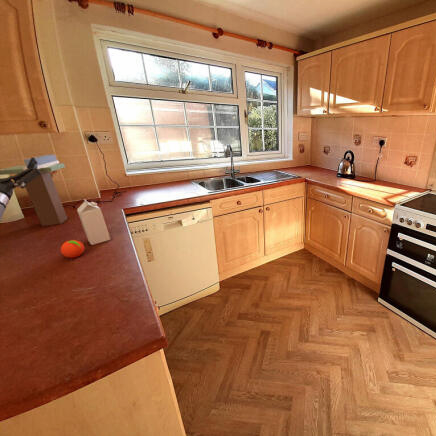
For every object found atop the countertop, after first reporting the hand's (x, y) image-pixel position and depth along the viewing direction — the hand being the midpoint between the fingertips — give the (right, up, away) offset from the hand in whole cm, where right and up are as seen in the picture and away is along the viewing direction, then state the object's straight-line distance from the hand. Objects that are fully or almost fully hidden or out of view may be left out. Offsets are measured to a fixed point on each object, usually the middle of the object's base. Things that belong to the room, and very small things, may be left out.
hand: (14, 161), depth 103 cm
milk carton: (+30, -34, +8) cm, 46 cm away
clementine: (+32, -40, -6) cm, 51 cm away
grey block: (-6, +2, +18) cm, 19 cm away
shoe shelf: (-11, -26, +29) cm, 41 cm away
